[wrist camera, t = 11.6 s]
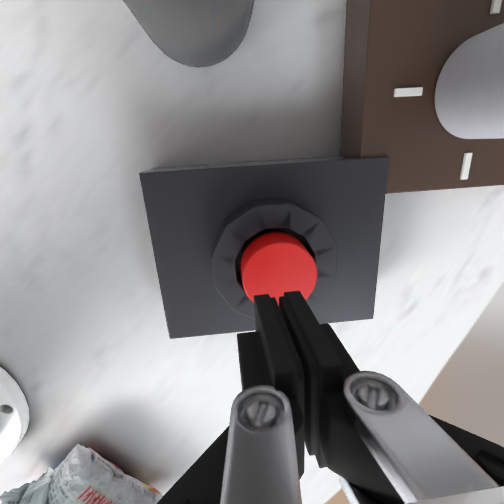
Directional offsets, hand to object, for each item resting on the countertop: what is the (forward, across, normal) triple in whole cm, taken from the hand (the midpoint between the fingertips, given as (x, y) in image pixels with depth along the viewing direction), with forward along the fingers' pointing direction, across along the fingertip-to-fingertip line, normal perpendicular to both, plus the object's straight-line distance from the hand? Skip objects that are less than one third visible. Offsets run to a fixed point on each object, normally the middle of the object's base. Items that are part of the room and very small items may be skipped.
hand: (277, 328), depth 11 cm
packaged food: (+11, +14, +20) cm, 27 cm away
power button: (+5, -1, 0) cm, 5 cm away
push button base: (+10, -1, 0) cm, 10 cm away
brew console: (+9, -12, -8) cm, 17 cm away
